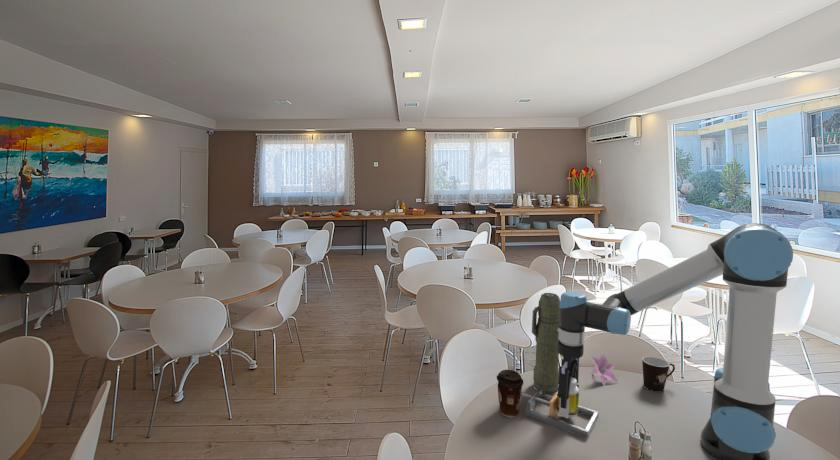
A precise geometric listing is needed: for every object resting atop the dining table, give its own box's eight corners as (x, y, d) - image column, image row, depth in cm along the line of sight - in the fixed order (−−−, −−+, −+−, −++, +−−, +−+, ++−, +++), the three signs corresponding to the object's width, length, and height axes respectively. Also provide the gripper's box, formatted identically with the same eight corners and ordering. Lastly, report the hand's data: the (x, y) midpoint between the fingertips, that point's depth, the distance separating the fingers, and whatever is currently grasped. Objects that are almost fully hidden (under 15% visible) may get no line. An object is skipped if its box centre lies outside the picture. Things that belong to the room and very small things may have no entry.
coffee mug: (643, 391, 141) (645, 365, 140) (637, 379, 149) (639, 355, 148) (680, 396, 137) (682, 369, 136) (672, 384, 146) (674, 359, 144)
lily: (584, 387, 145) (598, 370, 141) (576, 362, 156) (589, 346, 151) (613, 395, 146) (628, 380, 142) (603, 370, 157) (617, 355, 152)
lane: (598, 417, 125) (599, 405, 124) (587, 438, 114) (588, 425, 114) (540, 397, 136) (540, 386, 135) (525, 414, 126) (526, 403, 125)
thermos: (525, 382, 146) (528, 292, 142) (553, 379, 149) (558, 290, 144) (536, 395, 138) (540, 299, 133) (566, 391, 140) (572, 297, 136)
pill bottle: (579, 419, 120) (581, 385, 119) (558, 416, 121) (560, 383, 120) (575, 407, 126) (577, 375, 125) (555, 405, 127) (557, 373, 126)
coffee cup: (491, 414, 126) (492, 376, 124) (499, 402, 133) (500, 366, 131) (518, 422, 122) (520, 383, 120) (524, 409, 129) (526, 372, 127)
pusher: (562, 406, 130) (563, 389, 129) (552, 421, 122) (553, 402, 121) (525, 394, 138) (525, 377, 137) (513, 406, 130) (513, 389, 129)
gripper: (567, 330, 131) (564, 394, 134) (548, 348, 116) (544, 421, 119) (591, 335, 126) (587, 402, 129) (574, 355, 111) (570, 430, 114)
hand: (567, 411), depth 124 cm, fingers closed on pill bottle, 6 cm apart
